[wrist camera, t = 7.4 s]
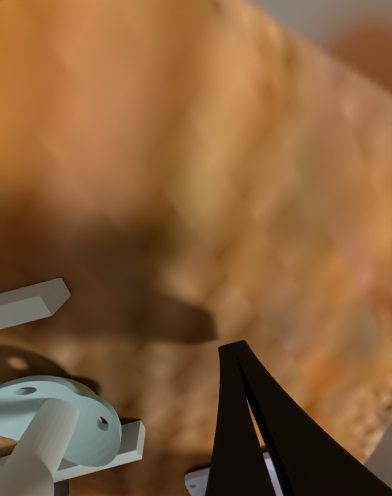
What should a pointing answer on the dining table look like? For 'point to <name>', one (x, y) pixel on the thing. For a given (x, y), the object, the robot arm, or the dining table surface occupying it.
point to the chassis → (44, 305)
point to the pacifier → (53, 431)
